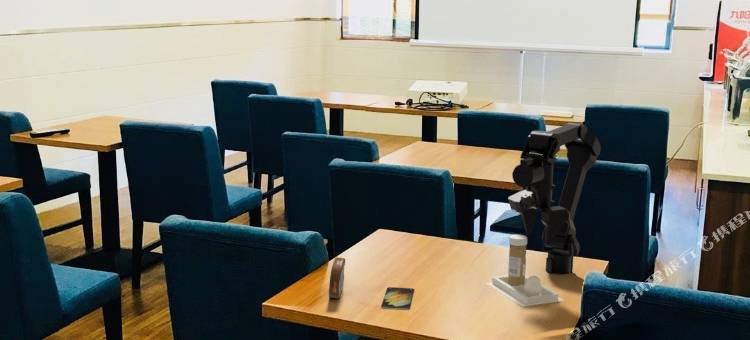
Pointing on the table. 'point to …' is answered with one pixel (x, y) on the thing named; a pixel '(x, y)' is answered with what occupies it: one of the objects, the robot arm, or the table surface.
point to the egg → (533, 286)
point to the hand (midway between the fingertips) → (538, 239)
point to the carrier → (523, 292)
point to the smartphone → (398, 298)
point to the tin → (336, 278)
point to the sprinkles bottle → (517, 260)
